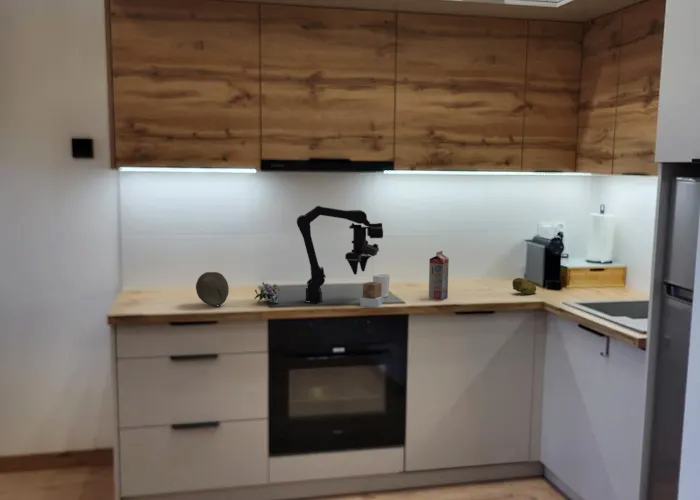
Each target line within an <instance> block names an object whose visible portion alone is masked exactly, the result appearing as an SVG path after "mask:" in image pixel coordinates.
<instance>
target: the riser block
mask: <svg viewBox="0 0 700 500" xmlns="http://www.w3.org/2000/svg"><path fill="white" fill-rule="evenodd" d="M359 300H360V305H359V306H360V307H362V308H380V307H381V306H382V305H383V297H382V296H381V297H378V298H376V299H372V298H364V297H363V296H361V297H360V299H359ZM381 304H382V305H381Z"/></svg>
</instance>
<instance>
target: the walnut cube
mask: <svg viewBox="0 0 700 500" xmlns="http://www.w3.org/2000/svg"><path fill="white" fill-rule="evenodd" d="M362 297H364V298H372V299H376V298H378V297H381V283H376V282H373V281H368V282H364V283H362Z"/></svg>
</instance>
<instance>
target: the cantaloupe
mask: <svg viewBox="0 0 700 500" xmlns="http://www.w3.org/2000/svg"><path fill="white" fill-rule="evenodd" d="M229 290H230V289H229V283H228V280H227V279H226V277H225V276H224V275H223V274H222V273H220V272H217V271H206V272H204V273H203V274H201V275H199V277H198V278H197V281H196V282H195V291H196V294H197V296H198V298H199V299H200V300H201V301H202V302H203V303H204V304H206V305H208V306H211V307H218V306H217V305H219V306H221V305H223V304H224V303H225V302H226V300H227V298H228V296H229V292H230V291H229Z"/></svg>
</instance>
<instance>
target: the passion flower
mask: <svg viewBox="0 0 700 500" xmlns="http://www.w3.org/2000/svg"><path fill="white" fill-rule="evenodd" d="M261 284H262V285H263V287H261V290H260V293H258V291H257V289H254V292H255V294H256V296H255V297H254V298H253V300H256V299H257V298H258V303H260V302H261V301H262V300H263V299H267V300H268V299H270V301H272V303H273V304H275V302H278V300H279V296H280V294H279V292H278V291H281V290H280V287H278V286H277V284H276V283H274V284H273V285H271V284H269V283H267V282H266V283H265V282H264V281H263V282H262V283H261Z"/></svg>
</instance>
